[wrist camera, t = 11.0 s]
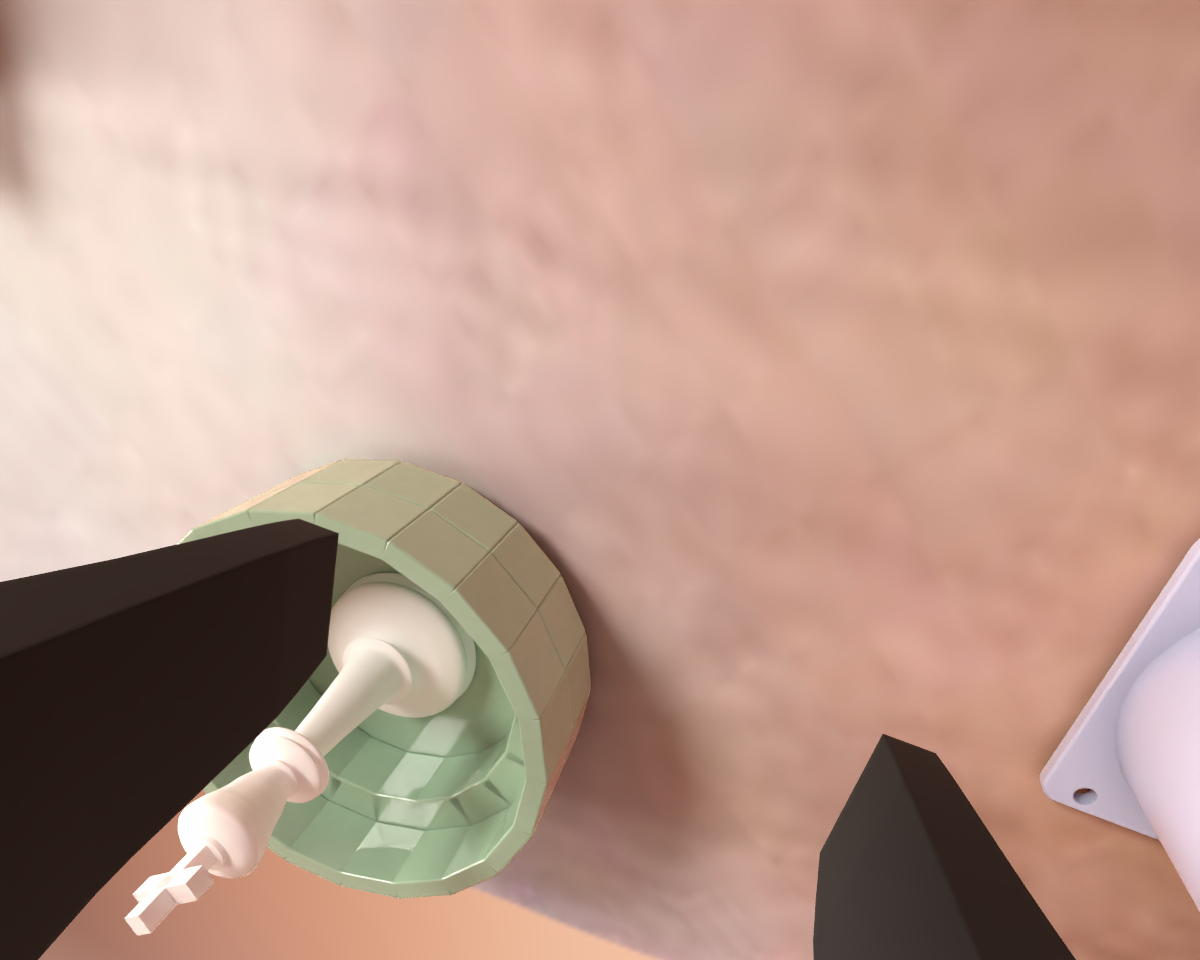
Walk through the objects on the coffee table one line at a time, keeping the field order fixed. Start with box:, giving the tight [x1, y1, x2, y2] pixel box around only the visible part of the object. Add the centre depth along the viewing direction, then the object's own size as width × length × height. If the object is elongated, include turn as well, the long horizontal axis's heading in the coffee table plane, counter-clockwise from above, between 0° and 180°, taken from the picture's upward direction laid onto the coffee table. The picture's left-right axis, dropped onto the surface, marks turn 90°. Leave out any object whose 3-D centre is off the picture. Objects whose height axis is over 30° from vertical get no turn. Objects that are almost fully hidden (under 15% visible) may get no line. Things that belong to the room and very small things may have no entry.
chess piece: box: [125, 573, 476, 935], centre depth 18 cm, size 5×5×10 cm
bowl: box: [178, 459, 591, 898], centre depth 21 cm, size 12×12×4 cm
